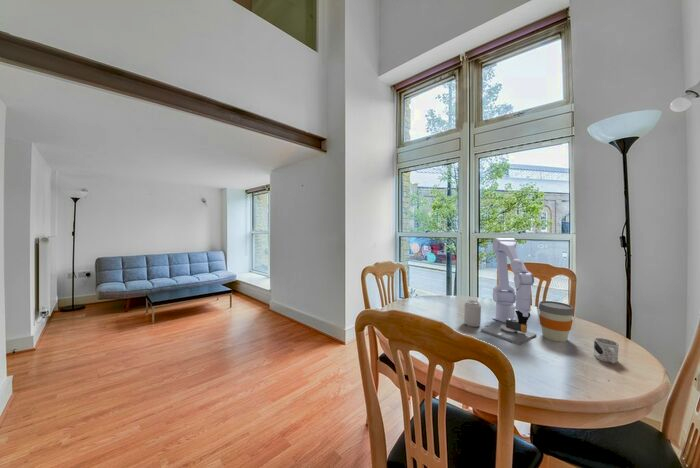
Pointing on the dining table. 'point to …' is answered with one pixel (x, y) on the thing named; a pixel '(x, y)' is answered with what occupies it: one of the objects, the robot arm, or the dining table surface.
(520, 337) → the panel
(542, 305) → the reusable coffee cup
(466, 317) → the white bottle
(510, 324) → the black orange block
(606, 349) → the mug
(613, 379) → the dining table surface
